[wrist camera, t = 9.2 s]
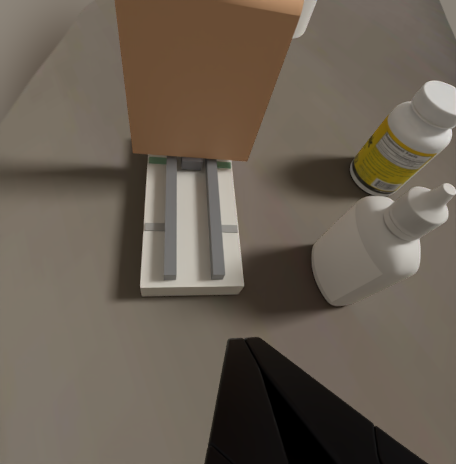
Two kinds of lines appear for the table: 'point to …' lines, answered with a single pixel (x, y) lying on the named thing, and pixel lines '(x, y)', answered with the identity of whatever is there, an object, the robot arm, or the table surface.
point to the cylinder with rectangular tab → (304, 17)
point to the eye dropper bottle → (376, 243)
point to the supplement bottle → (406, 140)
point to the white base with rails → (190, 230)
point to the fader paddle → (201, 73)
